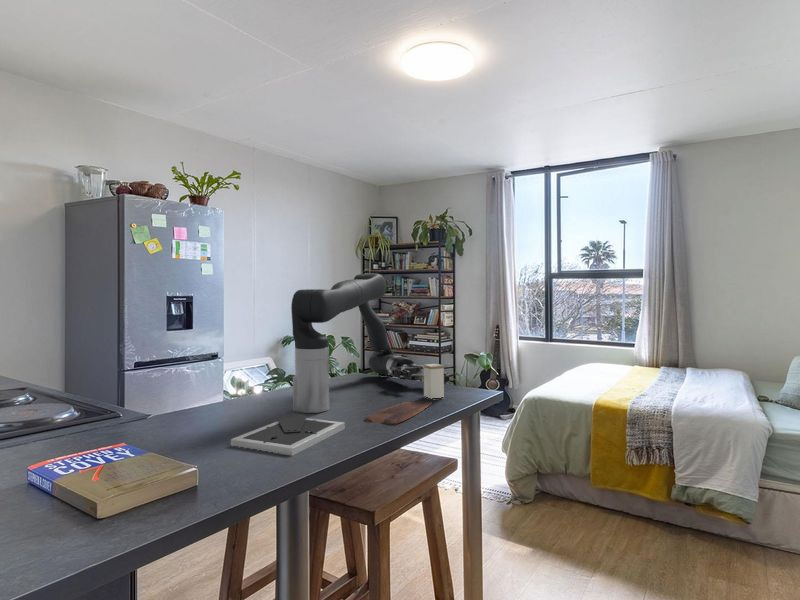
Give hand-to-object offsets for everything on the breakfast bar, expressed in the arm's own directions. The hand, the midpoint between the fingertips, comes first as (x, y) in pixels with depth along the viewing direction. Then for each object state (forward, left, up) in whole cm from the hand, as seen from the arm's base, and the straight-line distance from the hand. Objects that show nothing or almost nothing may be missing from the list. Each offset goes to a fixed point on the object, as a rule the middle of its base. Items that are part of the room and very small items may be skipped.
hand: (421, 373), depth 157 cm
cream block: (+4, -7, -6) cm, 10 cm away
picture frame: (-26, -50, -7) cm, 57 cm away
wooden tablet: (-3, -25, -7) cm, 27 cm away
